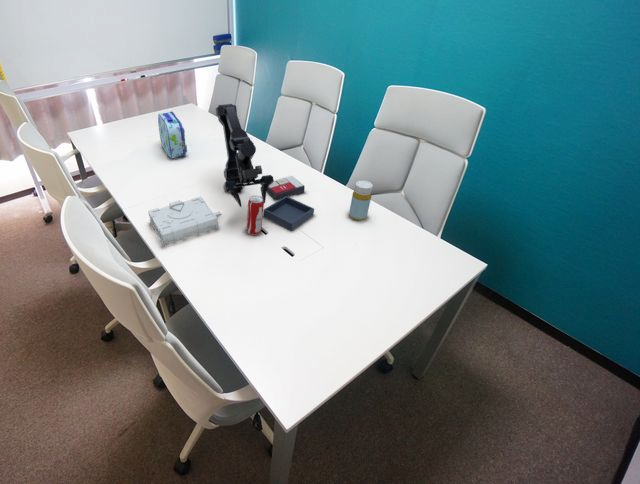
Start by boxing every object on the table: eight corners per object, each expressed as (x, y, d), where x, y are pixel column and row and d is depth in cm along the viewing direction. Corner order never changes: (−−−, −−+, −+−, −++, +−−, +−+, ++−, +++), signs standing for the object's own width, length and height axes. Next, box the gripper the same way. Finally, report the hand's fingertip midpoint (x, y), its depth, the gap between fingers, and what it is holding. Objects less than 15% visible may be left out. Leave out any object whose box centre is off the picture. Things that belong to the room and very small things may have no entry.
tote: (263, 216, 142) (263, 209, 140) (285, 202, 151) (286, 195, 149) (291, 231, 134) (292, 223, 132) (313, 215, 142) (314, 208, 140)
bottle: (366, 213, 143) (374, 181, 134) (366, 222, 137) (373, 190, 129) (349, 210, 145) (355, 178, 136) (347, 219, 139) (354, 187, 131)
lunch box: (189, 158, 190) (185, 121, 178) (170, 162, 186) (164, 124, 174) (177, 141, 209) (172, 107, 197) (159, 145, 206) (154, 110, 194)
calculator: (263, 182, 158) (292, 174, 163) (264, 190, 161) (292, 182, 165) (275, 193, 150) (305, 184, 154) (275, 201, 152) (304, 192, 157)
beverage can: (245, 227, 136) (245, 194, 128) (262, 226, 137) (262, 193, 128) (247, 236, 132) (246, 203, 123) (264, 235, 132) (265, 202, 123)
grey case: (231, 227, 137) (230, 211, 132) (162, 249, 126) (159, 232, 122) (211, 204, 151) (210, 189, 147) (148, 222, 141) (145, 206, 136)
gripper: (223, 161, 123) (231, 203, 121) (273, 155, 127) (281, 195, 124) (220, 171, 134) (227, 210, 132) (266, 165, 138) (274, 203, 135)
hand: (252, 204), depth 131 cm, fingers open, 9 cm apart
